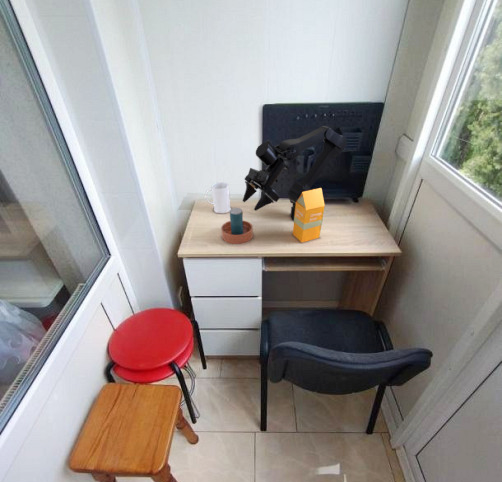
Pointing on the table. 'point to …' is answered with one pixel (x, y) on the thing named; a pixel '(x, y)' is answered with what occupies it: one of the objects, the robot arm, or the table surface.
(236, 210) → the can
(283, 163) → the robot arm
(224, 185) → the mug
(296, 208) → the orange juice
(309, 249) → the table surface
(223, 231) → the pot
